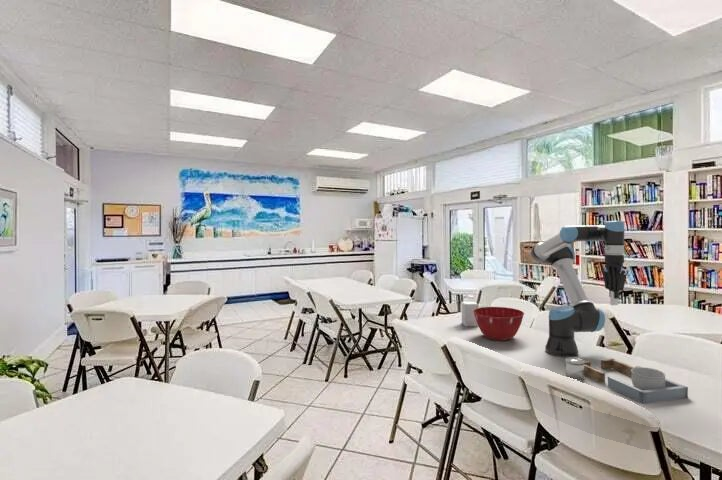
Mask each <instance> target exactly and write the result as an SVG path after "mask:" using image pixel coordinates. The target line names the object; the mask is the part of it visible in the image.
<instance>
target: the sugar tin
mask: <svg viewBox="0 0 722 480" xmlns="http://www.w3.org/2000/svg"><path fill="white" fill-rule="evenodd" d="M564 358H565V359H564V360H565V377H566V376H567V377H570V378H573V379H577V380H581V381H580V382H582V381H584V380H585V375H584V364H585V361H586V360H585V359H582V358H580V357H577V356H575V357H564Z"/></svg>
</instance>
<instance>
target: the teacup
mask: <svg viewBox="0 0 722 480" xmlns="http://www.w3.org/2000/svg"><path fill="white" fill-rule="evenodd" d="M634 367H635V368H633V369H631V373H632V377H631V382H632V386H634V387H636V388H638V389H641V390H643V391H644V390H652V389H660V388H665V379H666V373H665V372H663V371H662V370H659V369H655V368H652V367H645V366H644V367H642V366H640V365H636V366H634Z"/></svg>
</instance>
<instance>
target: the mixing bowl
mask: <svg viewBox="0 0 722 480" xmlns="http://www.w3.org/2000/svg"><path fill="white" fill-rule="evenodd" d="M473 312H474V315H475V319H476V322H477V324H478V326H477V327H478V328H479V331H480V332H481V334H483V335H484V336H485V337H486V338H487V339H490V340H494V341H508V340H510V339H512V338H514V337H515V336H516V335H517V333H518V331H519V329H520V327H521V325H522V322H523V318H524V315H525V312H524V311H522V310H520V309H517V308H512V307H504V306H485V307H483V306H482V307H478V308H477V309H475V310H473Z"/></svg>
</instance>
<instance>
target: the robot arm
mask: <svg viewBox="0 0 722 480" xmlns="http://www.w3.org/2000/svg"><path fill="white" fill-rule="evenodd" d="M625 231H626V230H625V222H624V221H623V220H608V221H607V220H606V221H605V222H604V225H602V224H601V225H598V224H597V225H595V224H594V225H565V226H562V227H561V229H560V231H559V233H558V234H556V235H554V236H552V237H550V238H549V239H547V240H545V241H543V242H542V241H541V242H538V243H536V244H534V245H533V246H532V248H531V249H530V256H531V258H532V259H533V260H534V261H535V262H536V263H538V264H543V265H544V264H545V265H550V266H551V268H552V269H553V270H555V271H556V272H557V274H558V276H559V277H558V278H559V280H560V282H561V284H562V287H563V290H564V291H565V293H566V296H567V298H568V301H569V303H570V305H571V306H569V305H560V306H558V305H556V306H554V307H551V308H550V309H549V311H548V338H547V342H546V344H545V347H544V349H545V352H546V353H547V354H549V355H552V356H556V357H562V358H567V357H577V356H579V349H578V345H577V343H576V340H575V333H589V332H590V333H594V332H600V331H601V330H603V328H604V327H605V323H606V316H605V313H604V312H603V310H602V309H601V308H599V307H598V308H596V306H595V304H594V302H592V301H589V299H588V296H587V295H586V292H585V290H584V288H583V286H582V284H581V282H580V279H579V277H578V275H577V273H576V270H575V268H574V265H573V264H574V262H575V259H576V255H575V254H576V252H575V250H574V248H573V246H571V245H572V244H574V243H576V242H604V253H605V255H604V263H606V264H605V266H604V267H602V268H601V269H600V270H601V273H602V276H603V277H602V278H603V283H604V287H605V289H607V290H608V291H609V298H610V299H609V300H610V301H609V302H610V303H609V304H610V306H619V298H620V292H623V291H624V288H625V285H626V280H627V276H628V274H629V270H626V269H625V267H624V263H625Z"/></svg>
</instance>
